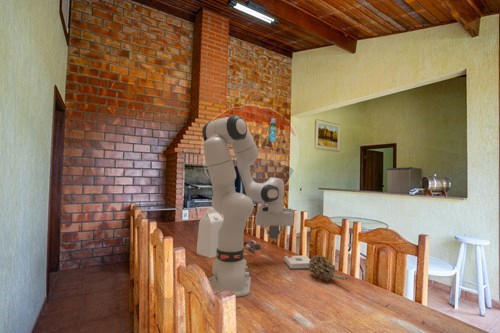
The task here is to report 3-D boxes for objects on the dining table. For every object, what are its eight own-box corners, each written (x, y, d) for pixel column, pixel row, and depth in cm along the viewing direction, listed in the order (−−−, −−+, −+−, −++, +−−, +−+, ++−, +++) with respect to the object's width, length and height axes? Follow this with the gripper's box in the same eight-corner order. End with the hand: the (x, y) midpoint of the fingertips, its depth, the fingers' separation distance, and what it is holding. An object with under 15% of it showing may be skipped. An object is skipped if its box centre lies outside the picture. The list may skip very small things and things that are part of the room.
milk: (211, 249, 166) (213, 206, 166) (225, 253, 158) (226, 208, 159) (196, 253, 156) (197, 208, 157) (210, 258, 149) (211, 210, 149)
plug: (277, 242, 141) (278, 227, 141) (269, 241, 142) (269, 227, 142) (278, 240, 147) (278, 225, 147) (269, 239, 147) (270, 225, 147)
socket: (314, 269, 136) (314, 262, 136) (290, 269, 134) (290, 262, 134) (305, 261, 148) (305, 254, 148) (284, 261, 146) (284, 255, 146)
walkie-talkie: (240, 245, 177) (252, 254, 159) (241, 238, 177) (252, 246, 159) (253, 244, 180) (266, 253, 162) (253, 237, 180) (266, 245, 162)
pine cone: (302, 275, 127) (303, 254, 127) (316, 271, 133) (316, 251, 133) (343, 293, 110) (344, 268, 110) (357, 288, 115) (357, 264, 115)
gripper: (292, 207, 149) (291, 233, 149) (255, 206, 146) (254, 232, 146) (295, 209, 143) (294, 235, 142) (257, 208, 140) (256, 235, 140)
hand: (274, 234), depth 144 cm, fingers closed on plug, 5 cm apart
